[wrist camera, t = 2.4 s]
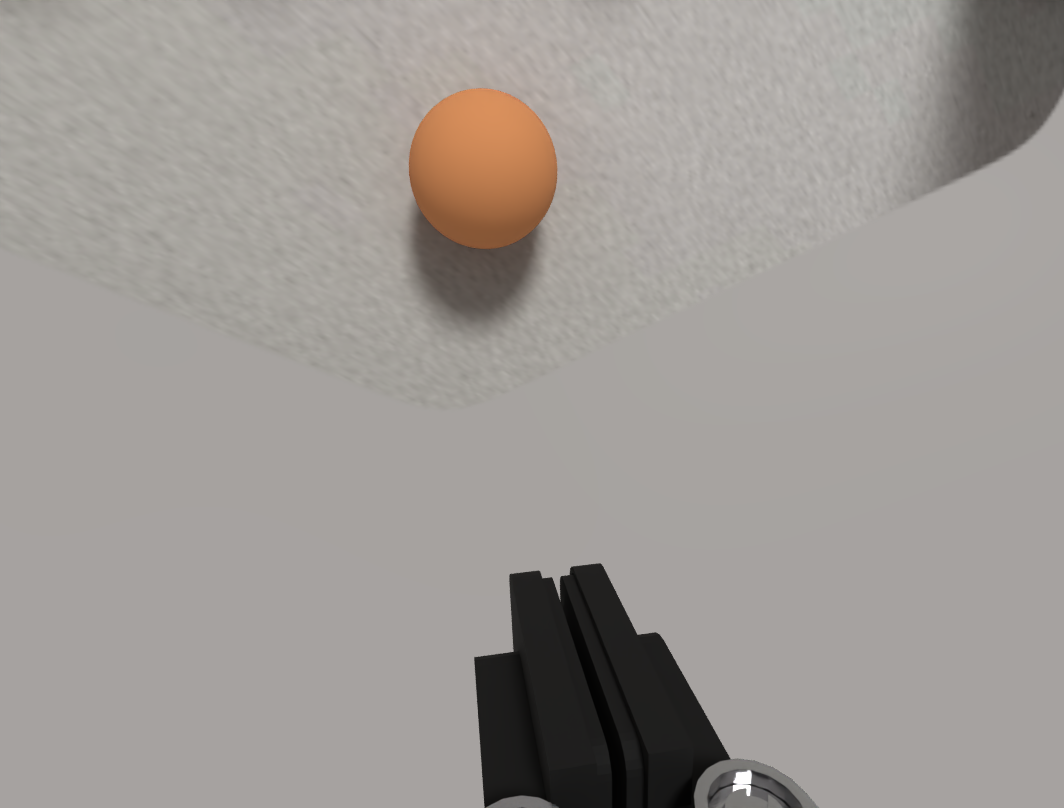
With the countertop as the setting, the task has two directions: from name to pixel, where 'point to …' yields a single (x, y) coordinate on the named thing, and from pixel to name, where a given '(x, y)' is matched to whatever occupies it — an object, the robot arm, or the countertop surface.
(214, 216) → the countertop surface
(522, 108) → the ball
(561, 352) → the countertop surface
